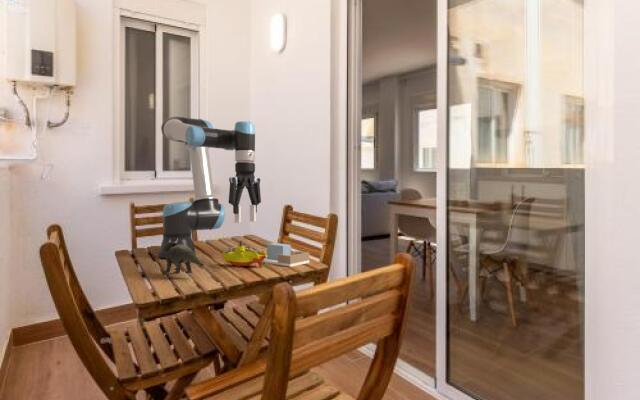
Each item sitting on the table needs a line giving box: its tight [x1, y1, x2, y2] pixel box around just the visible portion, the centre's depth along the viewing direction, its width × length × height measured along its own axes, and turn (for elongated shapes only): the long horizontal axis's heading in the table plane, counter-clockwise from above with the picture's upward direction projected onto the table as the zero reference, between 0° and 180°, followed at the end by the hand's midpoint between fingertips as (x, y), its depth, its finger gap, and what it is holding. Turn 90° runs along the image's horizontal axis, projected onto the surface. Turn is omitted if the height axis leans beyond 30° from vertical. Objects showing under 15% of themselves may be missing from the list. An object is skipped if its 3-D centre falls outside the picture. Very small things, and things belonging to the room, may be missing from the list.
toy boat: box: [222, 240, 266, 268], centre depth 148 cm, size 6×18×10 cm, turn 71°
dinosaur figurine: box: [162, 238, 205, 275], centre depth 136 cm, size 22×8×11 cm, turn 48°
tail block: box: [266, 242, 292, 260], centre depth 158 cm, size 9×4×6 cm, turn 52°
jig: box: [228, 244, 310, 268], centre depth 162 cm, size 37×11×4 cm, turn 52°
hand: (245, 221), depth 148 cm, fingers open, 7 cm apart
